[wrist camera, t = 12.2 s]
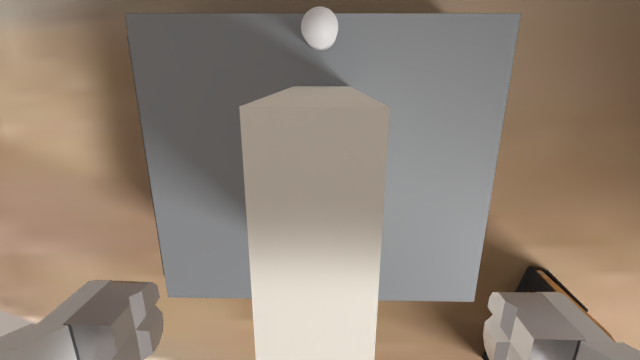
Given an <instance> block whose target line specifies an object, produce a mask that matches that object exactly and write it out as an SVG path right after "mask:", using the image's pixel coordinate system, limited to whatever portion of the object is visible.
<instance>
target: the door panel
mask: <svg viewBox="0 0 640 360" xmlns="http://www.w3.org/2000/svg"><path fill="white" fill-rule="evenodd" d="M239 110H240V125H241V140H242V155H243V170H244V186H245V201H246V216H247V231H248V246H249V261H250V276H251V292H252V307H253V322H254V337H255V352H256V360H374V353H375V338H376V322H377V306H378V291H379V275H380V259H381V244H382V228H383V212H384V197H385V181H386V165H387V150H388V134H389V118H390V107H389V106H387V105H385V104H383V103H381V102H379V101H377V100H375V99H373V98H371V97H370V96H368V95H366V94H364V93H362V92H360V91H358V90H356V89H354V88H352V87H351V86H293V87H290V88H288V89H285V90H282V91H280V92H277V93H274V94H272V95H269V96H266V97H264V98H261V99H258V100H255V101H253V102H250V103H247V104H245V105H242V106H239Z"/></svg>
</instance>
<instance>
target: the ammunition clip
mask: <svg viewBox="0 0 640 360" xmlns="http://www.w3.org/2000/svg"><path fill="white" fill-rule="evenodd" d="M515 292H531V293H536V292H559V293H562V294H564V295H566V296H567V297H568V298H569V299H570V300H571V301H572V302H573V303H574V304H575V305H576V306H577V307H578V308H579V309H580V310H582V311H583V312H584V313H585V314H586V315H587V316H588V317H589V318H590V319H591V320H592V321H593V322H594V323H595V324H596V325H597V326H598V327H599V328H601V329H602V330H603V331H604V332H605V333H606V334H607V335H608V336H609V337H610V338H611V339H612V340H613V341H614V342H615V340H614V339H613V338H612V336H611V335H610V334H609V333H608V332H607V331H606V330H605V329H604V328H603V327H602V326H601V325H600V324H599V323H598V322H597V321H596V320H595V319H593V318H592V317H591V316H590V315H589V314H588V313H587V312H588V309H587V308H586V307H585V306H584V305H583V304H582V303H581V302H580V301H579V300H577V299H576V298H575V297H574V296H573V295H572V294H571V293H570V292H569V291H568V290H567V289H566V288H565V287H564V286H563V285H562V284H561V283H560V282H559V281H558V280H557V279H556V278H555V277H554V276H553V275H552V274H551V273H550V272H549V271H548V270H544V269H540V268H536V267H532V266H530V267H528V268H527V270H526V272H525V274H524V276H523V278H522V280H521V282H520V284H519V286H518V288H517V289H516V291H515ZM482 358H483V360H489V358H488V356H487V353H486V350H485V352H484V354H483V356H482Z"/></svg>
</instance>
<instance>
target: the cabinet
mask: <svg viewBox="0 0 640 360" xmlns="http://www.w3.org/2000/svg"><path fill="white" fill-rule="evenodd" d="M520 16H521V13H333V12H332V11H331V10H330V9H328V8H326V7H321V6H318V7H314V8H312V9H310V10H308V11H307V12H306V13H125V18H126V25H127V31H128V36H127V38H128V44H129V51H130V57H131V64H132V70H133V77H134V83H135V90H136V96H137V103H138V109H139V116H140V123H141V129H142V136H143V142H144V149H145V155H146V162H147V168H148V175H149V181H150V188H151V194H152V201H153V207H154V214H155V220H156V227H157V233H158V240H159V246H160V253H161V260H162V266H163V273H164V275H165V281H166V287H167V294H168V297H181V298H249V299H252V292H251V276H250V261H249V246H248V231H247V216H246V201H245V186H244V170H243V155H242V140H241V125H240V110H239V106H242V105H245V104H247V103H250V102H253V101H255V100H258V99H261V98H264V97H266V96H269V95H272V94H274V93H277V92H280V91H282V90H285V89H288V88H290V87H293V86H351V87H352V88H354V89H356V90H358V91H360V92H362V93H364V94H366V95H368V96H370V97H371V98H373V99H375V100H377V101H379V102H381V103H383V104H385V105H387V106H389V107H390V118H389V134H388V150H387V165H386V181H385V197H384V212H383V228H382V244H381V259H380V275H379V291H378V300H385V301H453V302H474V298H475V292H476V286H477V280H478V274H479V268H480V262H481V255H482V249H483V243H484V237H485V231H486V225H487V219H488V213H489V206H490V200H491V194H492V188H493V182H494V176H495V170H496V163H497V157H498V151H499V145H500V139H501V133H502V127H503V121H504V114H505V108H506V102H507V96H508V90H509V84H510V78H511V71H512V65H513V59H514V53H515V47H516V41H517V35H518V29H519V22H520Z"/></svg>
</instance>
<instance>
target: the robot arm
mask: <svg viewBox="0 0 640 360" xmlns="http://www.w3.org/2000/svg"><path fill="white" fill-rule="evenodd" d="M159 298H160V296H159V291H158V286H157V285H156V284H154V283H153V282H135V281H112V280H93V281H88V282H87V283H86V284H85V285H83V286H82V287H81V288H80V289H79V290H77V291H76V292H75V293H74V294H73V295H71V296H70V297H69V298H68V299H67V300H66V301H64V302H63V303H62V304H61V305H60V306H58V307H57V308H56V309H55V310H54V311H52V312H51V313H50V314H49V315H48V316H46V317H45V318H44V319H43V320H42V321H41V322H39V323H38V324H29V325H27V326H25V327H22V328H20V329H18V330H16V331H13V332H11V333H8V334H6V335H4V336H1V337H0V360H144V359H145V358H147V357H148V356H150V355H151V354H153V353H154V351H155V349H156V348H157V346H158V344H159V342H160V339H161V335H162V332H163V315H162V312H161V311H160V310H159V309H158V308H157V307H156V305H155V304H156V302H157V301H158V299H159ZM488 308H489V310H490V311H491V313H492V314H493V315H492V316H491V317H490V318H489V319H488V320H486V321H485V323H484V331H483V339H484V347H485V350H486V353H487V356H488V358H489V360H640V351H639V350H637V349H635V348H633V347H631V346H629V345H627V344H625V343H619V342H614V341H613V340H612V339H611V338H610V337H609V336H608V335H607V334H606V333H605V332H604V331H603V330H602V329H601V328H599V327H598V326H597V325H596V324H595V323H594V322H593V321H592V320H591V319H590V318H589V317H588V316H587V315H586V314H585V313H584V312H583V311H582V310H580V309H579V308H578V307H577V306H576V305H575V304H574V303H573V302H572V301H571V300H570V299H569V298H568V297H567V296H566V295H564V294H562V293H559V292H536V293H531V292H492V294H491V296H490V297H489V302H488Z"/></svg>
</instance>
